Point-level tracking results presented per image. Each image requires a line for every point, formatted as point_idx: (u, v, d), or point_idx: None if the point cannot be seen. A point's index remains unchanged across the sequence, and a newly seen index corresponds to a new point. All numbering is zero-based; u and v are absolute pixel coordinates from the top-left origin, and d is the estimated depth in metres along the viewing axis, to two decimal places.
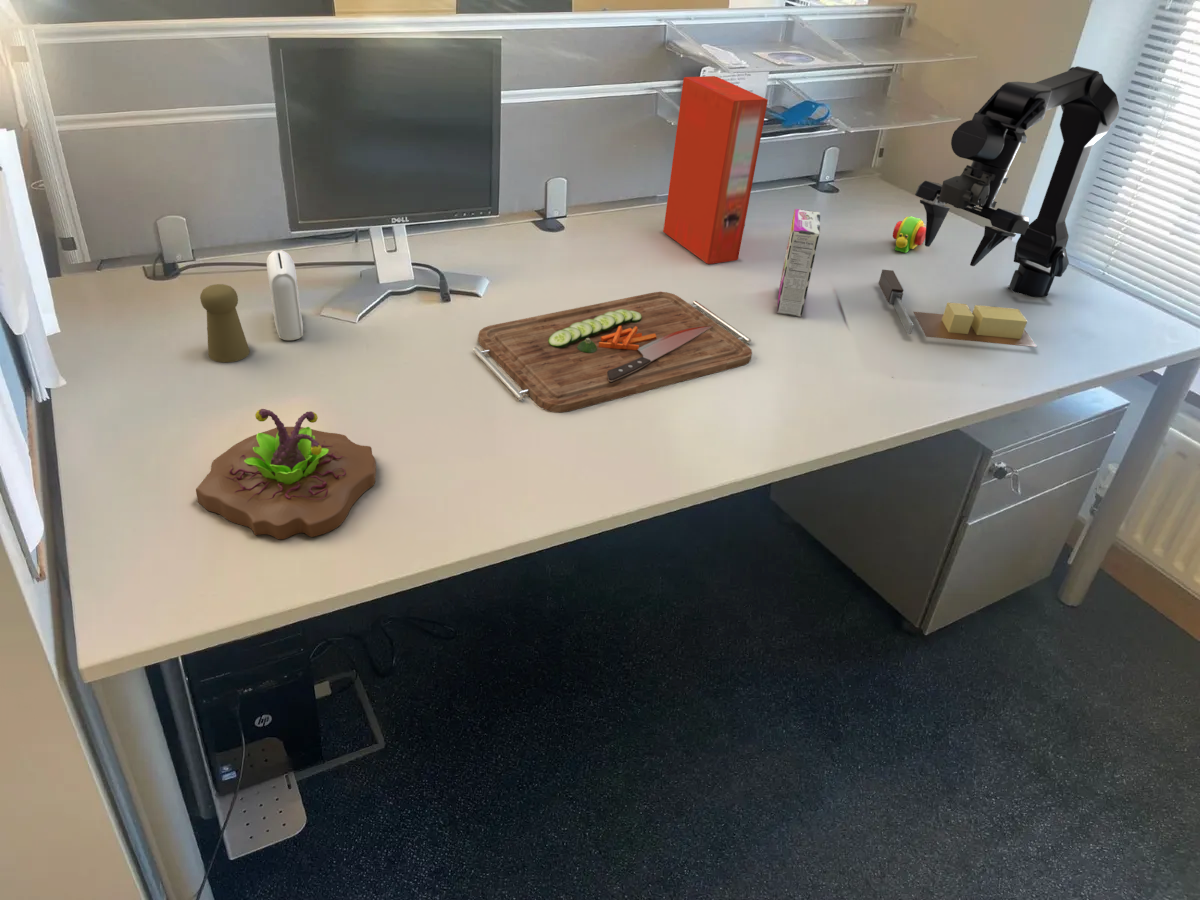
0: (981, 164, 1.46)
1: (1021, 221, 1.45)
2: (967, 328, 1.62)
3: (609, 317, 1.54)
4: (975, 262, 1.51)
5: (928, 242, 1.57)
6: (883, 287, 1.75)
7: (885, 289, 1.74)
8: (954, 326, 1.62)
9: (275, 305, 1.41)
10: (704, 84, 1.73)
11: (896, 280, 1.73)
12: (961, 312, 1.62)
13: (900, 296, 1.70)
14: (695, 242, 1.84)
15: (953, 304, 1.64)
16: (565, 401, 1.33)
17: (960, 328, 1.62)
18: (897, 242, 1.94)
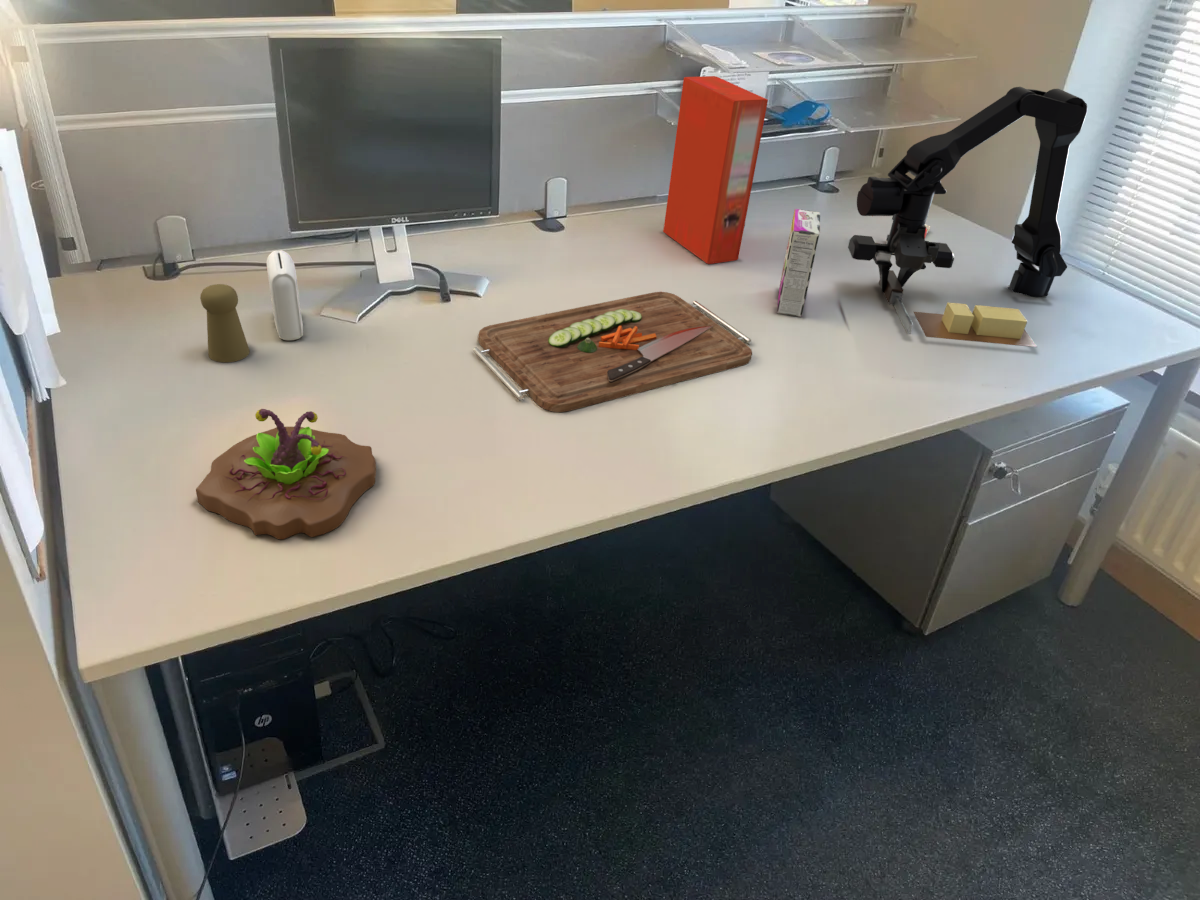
0: (914, 222, 1.64)
1: None
2: (967, 328, 1.62)
3: (609, 317, 1.54)
4: None
5: (884, 289, 1.74)
6: None
7: (885, 289, 1.74)
8: (954, 326, 1.62)
9: (275, 305, 1.41)
10: (704, 84, 1.73)
11: (896, 280, 1.73)
12: (961, 312, 1.62)
13: (900, 296, 1.70)
14: (695, 242, 1.84)
15: (953, 304, 1.64)
16: (565, 401, 1.33)
17: (960, 328, 1.62)
18: None
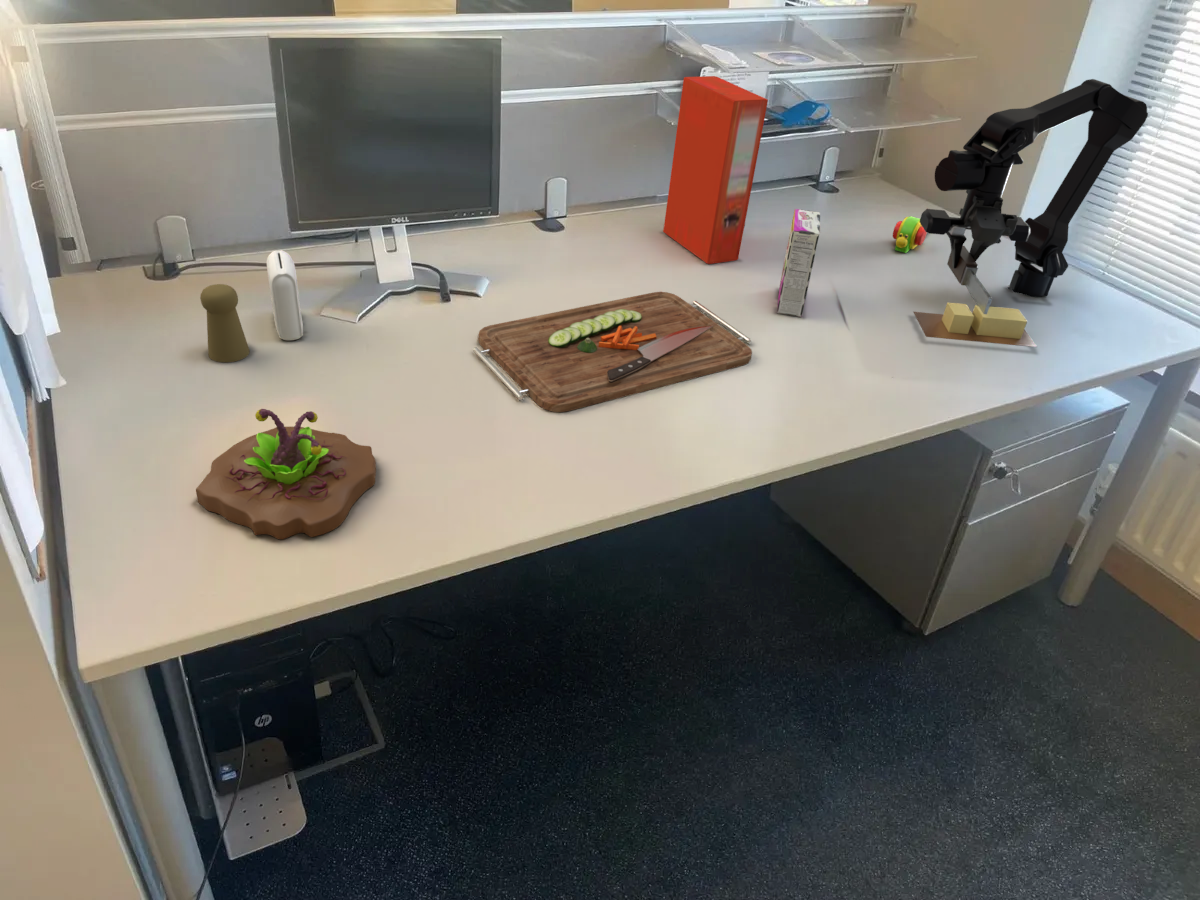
0: (991, 194, 1.60)
1: None
2: (967, 328, 1.62)
3: (609, 317, 1.54)
4: None
5: (956, 264, 1.71)
6: None
7: (957, 265, 1.70)
8: (954, 326, 1.62)
9: (275, 305, 1.41)
10: (704, 84, 1.73)
11: (969, 255, 1.70)
12: (961, 312, 1.62)
13: (974, 271, 1.66)
14: (695, 242, 1.84)
15: (953, 304, 1.64)
16: (565, 401, 1.33)
17: (960, 328, 1.62)
18: (897, 242, 1.94)
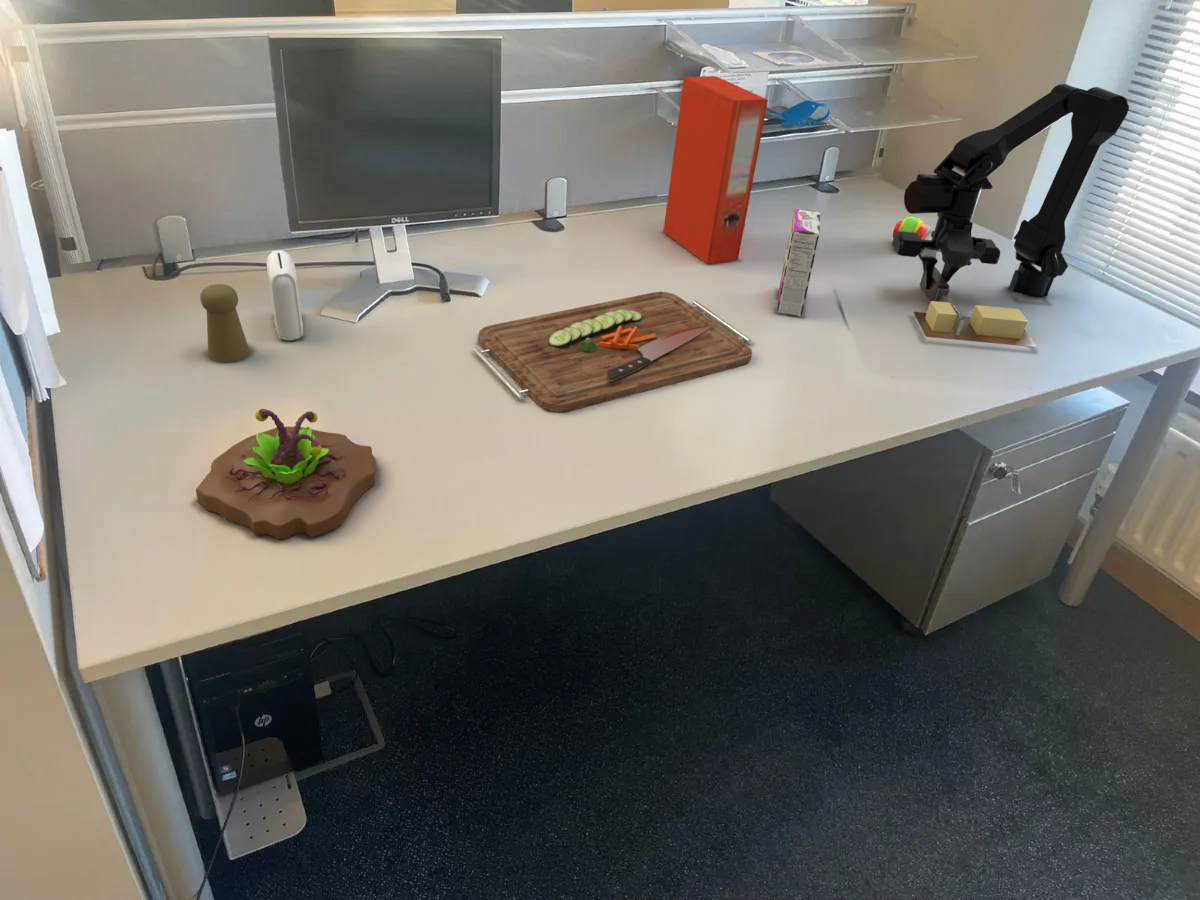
0: (960, 217, 1.63)
1: None
2: (951, 326, 1.62)
3: (609, 317, 1.54)
4: None
5: (928, 285, 1.73)
6: None
7: (929, 286, 1.73)
8: (937, 324, 1.62)
9: (275, 305, 1.41)
10: (704, 84, 1.73)
11: (941, 276, 1.72)
12: (944, 310, 1.62)
13: (946, 292, 1.69)
14: (695, 242, 1.84)
15: (936, 303, 1.64)
16: (565, 401, 1.33)
17: (943, 327, 1.62)
18: None
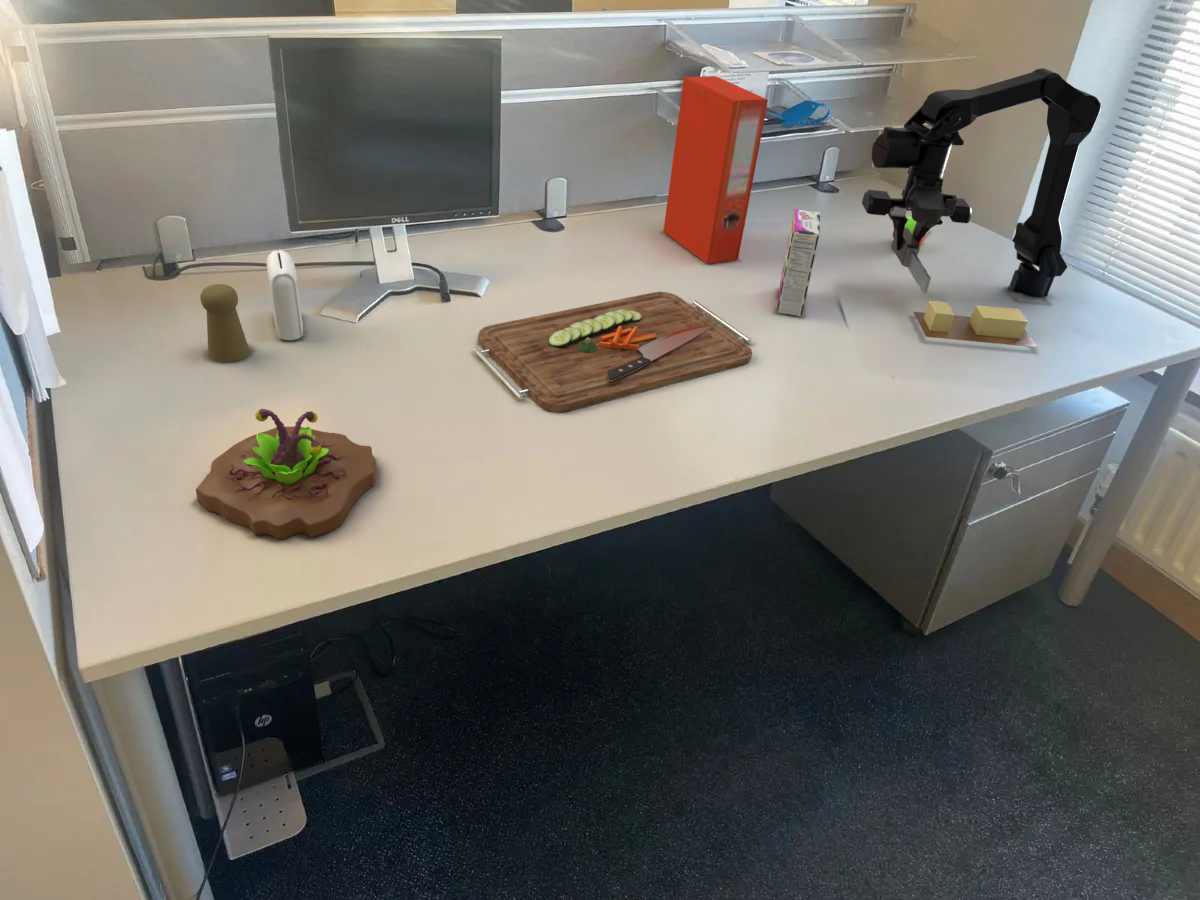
0: (930, 174, 1.59)
1: None
2: (949, 326, 1.62)
3: (609, 317, 1.54)
4: None
5: (899, 246, 1.69)
6: None
7: (900, 247, 1.69)
8: (935, 324, 1.62)
9: (275, 305, 1.41)
10: (704, 84, 1.73)
11: (911, 237, 1.68)
12: (942, 310, 1.62)
13: (916, 252, 1.65)
14: (695, 242, 1.84)
15: (934, 302, 1.64)
16: (565, 401, 1.33)
17: (941, 327, 1.62)
18: None
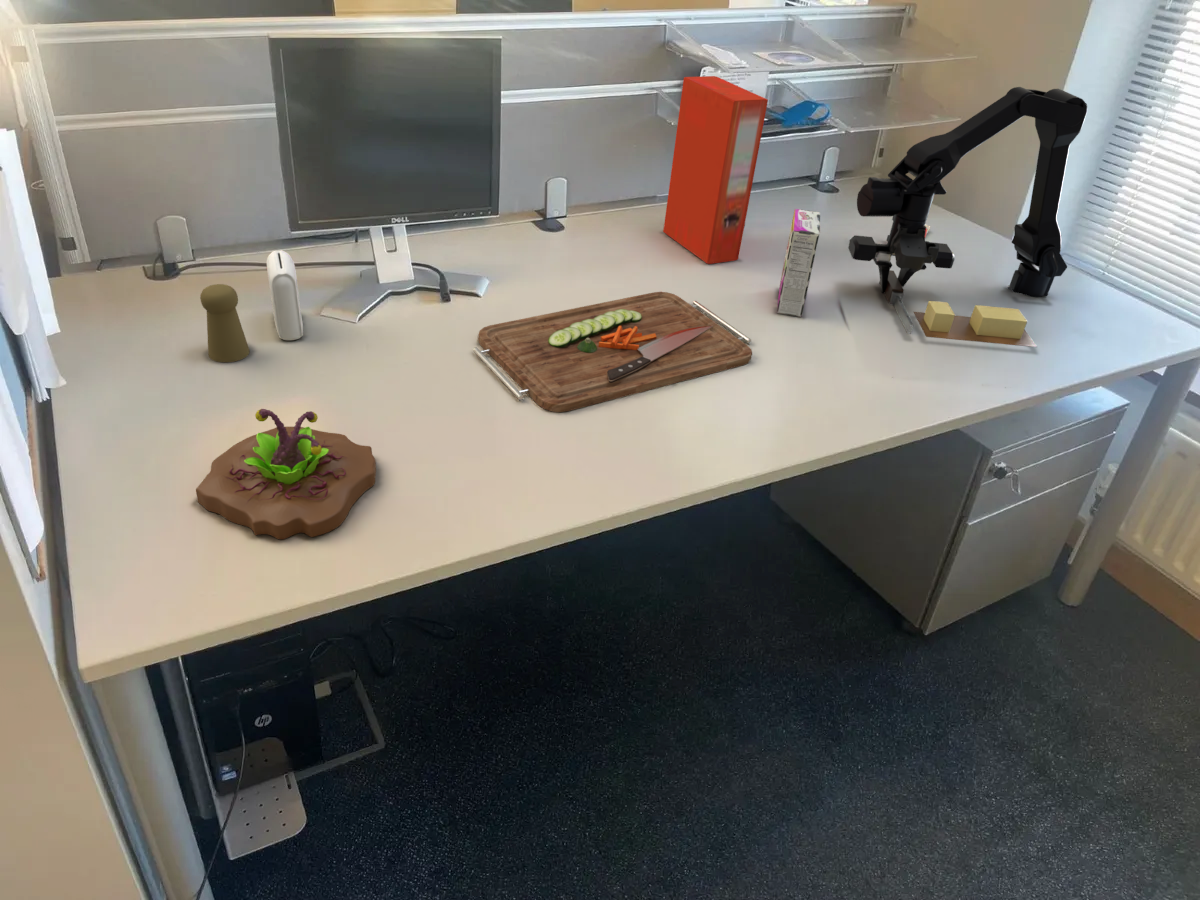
0: (914, 222, 1.64)
1: None
2: (949, 326, 1.62)
3: (609, 317, 1.54)
4: None
5: (884, 289, 1.74)
6: None
7: (885, 290, 1.74)
8: (935, 324, 1.62)
9: (275, 305, 1.41)
10: (704, 84, 1.73)
11: (896, 280, 1.73)
12: (942, 310, 1.62)
13: (900, 296, 1.70)
14: (695, 242, 1.84)
15: (934, 302, 1.64)
16: (565, 401, 1.33)
17: (941, 327, 1.62)
18: None
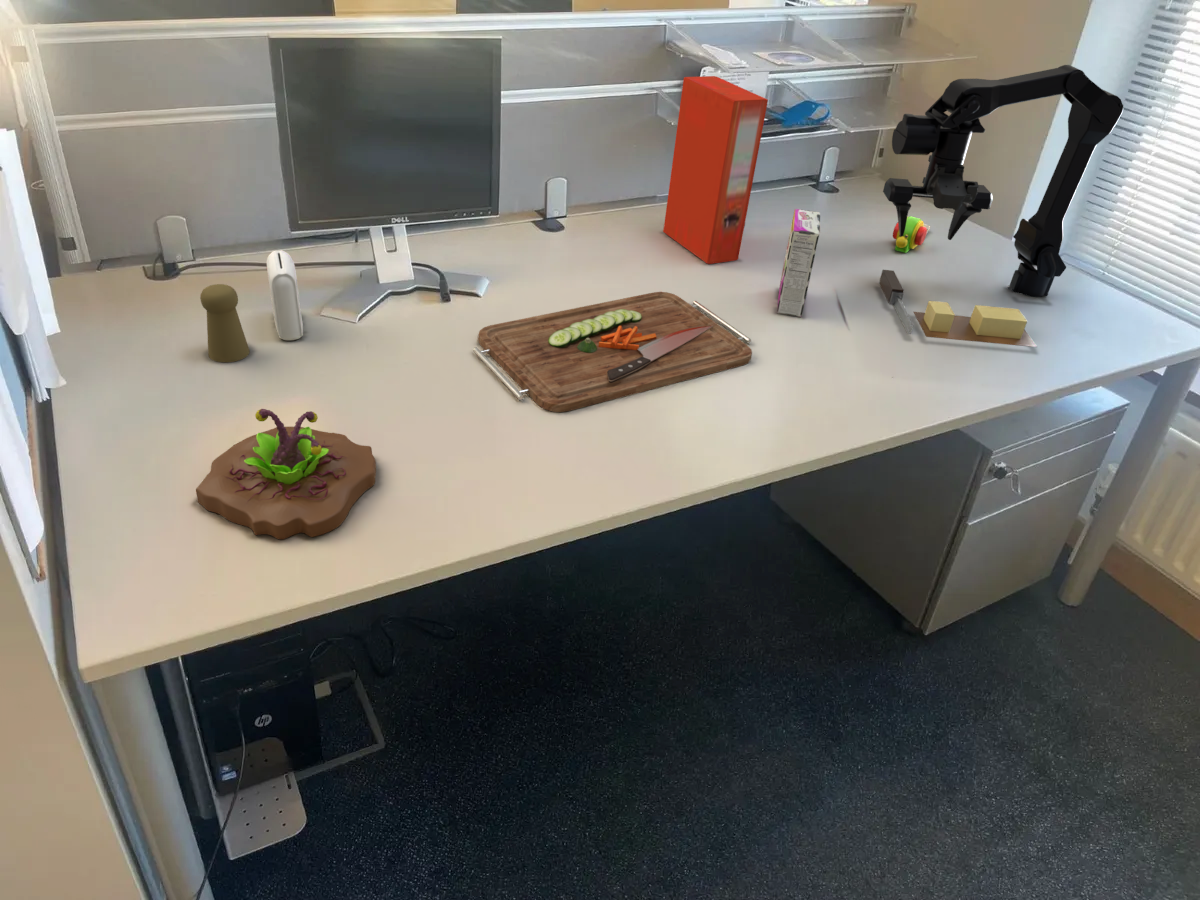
0: (952, 161, 1.61)
1: None
2: (949, 326, 1.62)
3: (609, 317, 1.54)
4: None
5: None
6: (883, 287, 1.75)
7: (885, 290, 1.74)
8: (935, 324, 1.62)
9: (275, 305, 1.41)
10: (704, 84, 1.73)
11: (896, 280, 1.73)
12: (942, 310, 1.62)
13: (900, 296, 1.70)
14: (695, 242, 1.84)
15: (934, 302, 1.64)
16: (565, 401, 1.33)
17: (941, 327, 1.62)
18: (897, 242, 1.94)
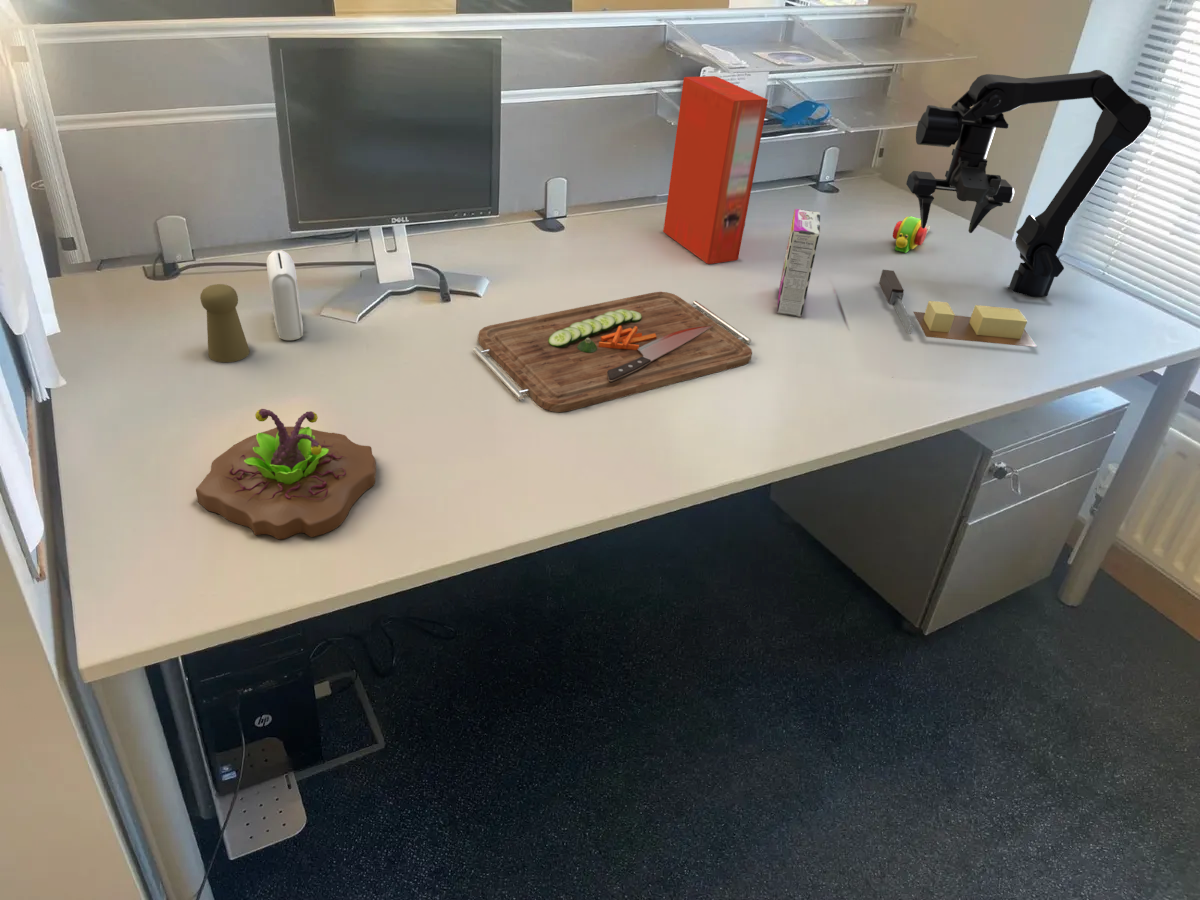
0: (975, 155, 1.64)
1: None
2: (949, 326, 1.62)
3: (609, 317, 1.54)
4: None
5: None
6: (883, 287, 1.75)
7: (885, 290, 1.74)
8: (935, 324, 1.62)
9: (275, 305, 1.41)
10: (704, 84, 1.73)
11: (896, 280, 1.73)
12: (942, 310, 1.62)
13: (900, 296, 1.70)
14: (695, 242, 1.84)
15: (934, 302, 1.64)
16: (565, 401, 1.33)
17: (941, 327, 1.62)
18: (897, 242, 1.94)
